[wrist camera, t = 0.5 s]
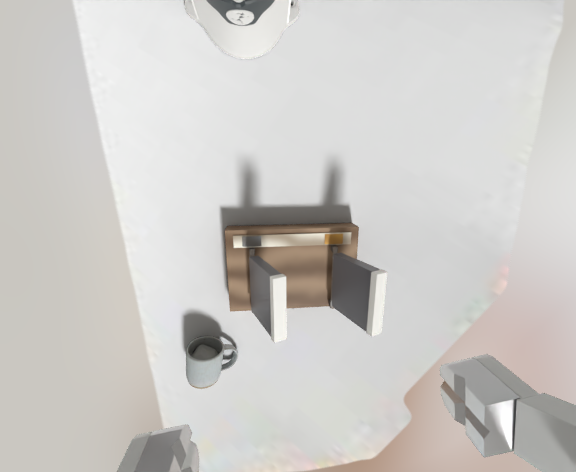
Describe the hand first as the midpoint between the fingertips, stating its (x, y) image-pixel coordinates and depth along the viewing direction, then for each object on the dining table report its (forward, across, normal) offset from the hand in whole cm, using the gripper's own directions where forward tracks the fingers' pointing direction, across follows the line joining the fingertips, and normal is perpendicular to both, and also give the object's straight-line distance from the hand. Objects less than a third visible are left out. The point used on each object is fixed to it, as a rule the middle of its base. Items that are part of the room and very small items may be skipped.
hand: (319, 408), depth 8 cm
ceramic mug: (+48, +19, +30) cm, 60 cm away
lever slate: (+42, +6, +13) cm, 44 cm away
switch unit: (+47, -2, +13) cm, 49 cm away
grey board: (+42, -10, +16) cm, 46 cm away
